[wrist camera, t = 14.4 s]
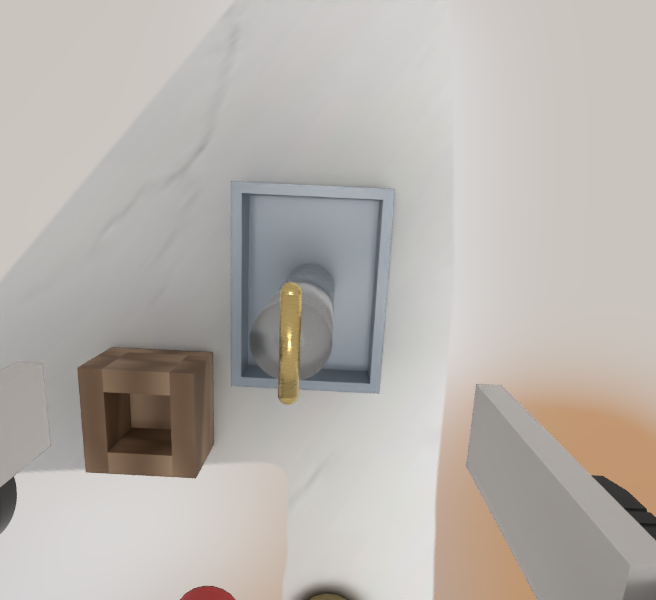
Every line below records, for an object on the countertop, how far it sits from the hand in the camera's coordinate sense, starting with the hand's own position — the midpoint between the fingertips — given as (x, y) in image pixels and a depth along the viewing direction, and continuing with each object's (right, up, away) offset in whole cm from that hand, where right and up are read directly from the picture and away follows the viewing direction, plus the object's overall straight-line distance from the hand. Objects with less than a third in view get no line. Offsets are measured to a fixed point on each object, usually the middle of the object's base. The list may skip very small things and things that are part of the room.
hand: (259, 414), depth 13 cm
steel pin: (+1, +5, +22) cm, 23 cm away
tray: (+1, +5, +23) cm, 23 cm away
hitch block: (-13, -5, +25) cm, 29 cm away
